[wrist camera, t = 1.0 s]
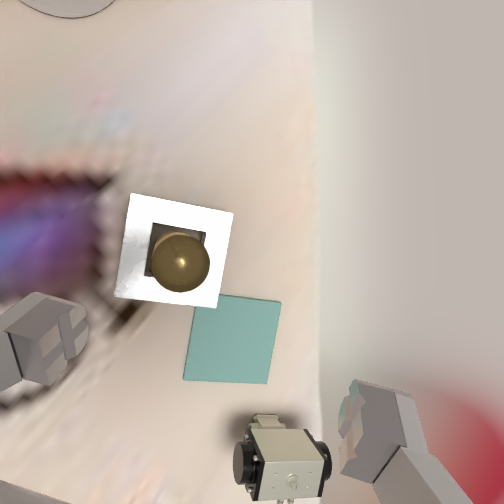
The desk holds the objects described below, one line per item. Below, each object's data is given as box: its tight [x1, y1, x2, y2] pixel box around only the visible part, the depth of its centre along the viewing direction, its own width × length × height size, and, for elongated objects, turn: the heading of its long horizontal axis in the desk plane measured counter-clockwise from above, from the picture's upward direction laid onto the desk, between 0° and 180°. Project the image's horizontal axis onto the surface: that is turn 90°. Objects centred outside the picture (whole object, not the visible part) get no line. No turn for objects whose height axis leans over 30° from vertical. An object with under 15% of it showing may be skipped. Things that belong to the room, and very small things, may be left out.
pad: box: [183, 294, 282, 384], centre depth 45 cm, size 12×12×1 cm
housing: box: [114, 193, 233, 308], centre depth 40 cm, size 12×12×4 cm
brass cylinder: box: [151, 231, 210, 293], centre depth 36 cm, size 5×5×14 cm
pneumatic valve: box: [233, 414, 332, 504], centre depth 42 cm, size 6×12×12 cm, turn 79°
